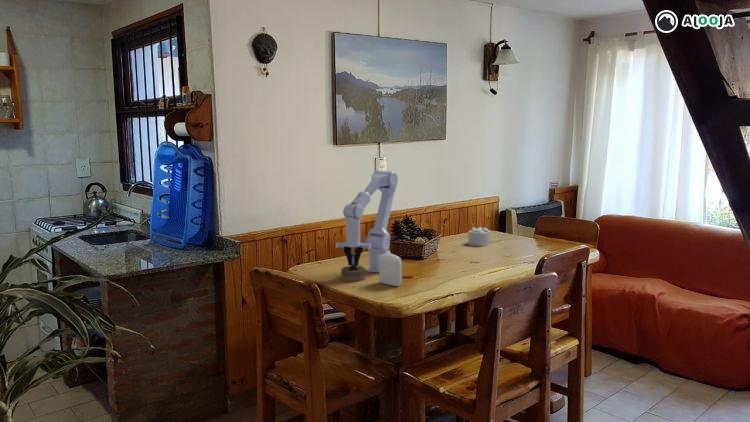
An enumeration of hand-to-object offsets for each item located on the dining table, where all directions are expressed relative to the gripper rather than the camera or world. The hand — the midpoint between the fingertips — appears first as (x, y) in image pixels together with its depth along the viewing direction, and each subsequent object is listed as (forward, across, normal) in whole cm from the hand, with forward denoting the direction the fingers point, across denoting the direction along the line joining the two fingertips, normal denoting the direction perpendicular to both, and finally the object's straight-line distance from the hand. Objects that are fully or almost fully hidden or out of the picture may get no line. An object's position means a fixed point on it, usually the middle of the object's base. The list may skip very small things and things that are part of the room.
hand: (353, 265), depth 243 cm
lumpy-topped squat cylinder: (+6, +52, +83) cm, 98 cm away
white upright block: (+6, +16, -6) cm, 19 cm away
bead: (+6, 0, 0) cm, 6 cm away
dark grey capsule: (+2, 0, 0) cm, 2 cm away
